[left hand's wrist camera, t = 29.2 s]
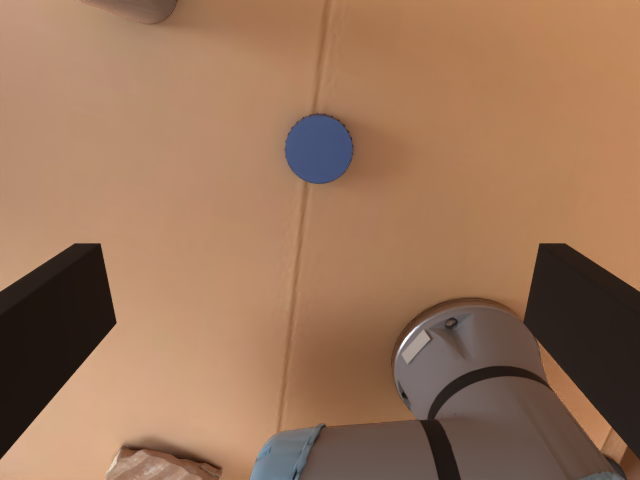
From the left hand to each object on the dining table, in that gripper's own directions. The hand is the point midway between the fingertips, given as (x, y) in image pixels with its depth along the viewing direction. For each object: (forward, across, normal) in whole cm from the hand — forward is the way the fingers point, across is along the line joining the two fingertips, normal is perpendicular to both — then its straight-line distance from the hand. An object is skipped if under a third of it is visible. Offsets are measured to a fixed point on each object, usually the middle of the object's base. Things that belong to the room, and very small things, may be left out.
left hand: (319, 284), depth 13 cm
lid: (+25, 0, 0) cm, 25 cm away
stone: (+26, +19, +40) cm, 52 cm away
